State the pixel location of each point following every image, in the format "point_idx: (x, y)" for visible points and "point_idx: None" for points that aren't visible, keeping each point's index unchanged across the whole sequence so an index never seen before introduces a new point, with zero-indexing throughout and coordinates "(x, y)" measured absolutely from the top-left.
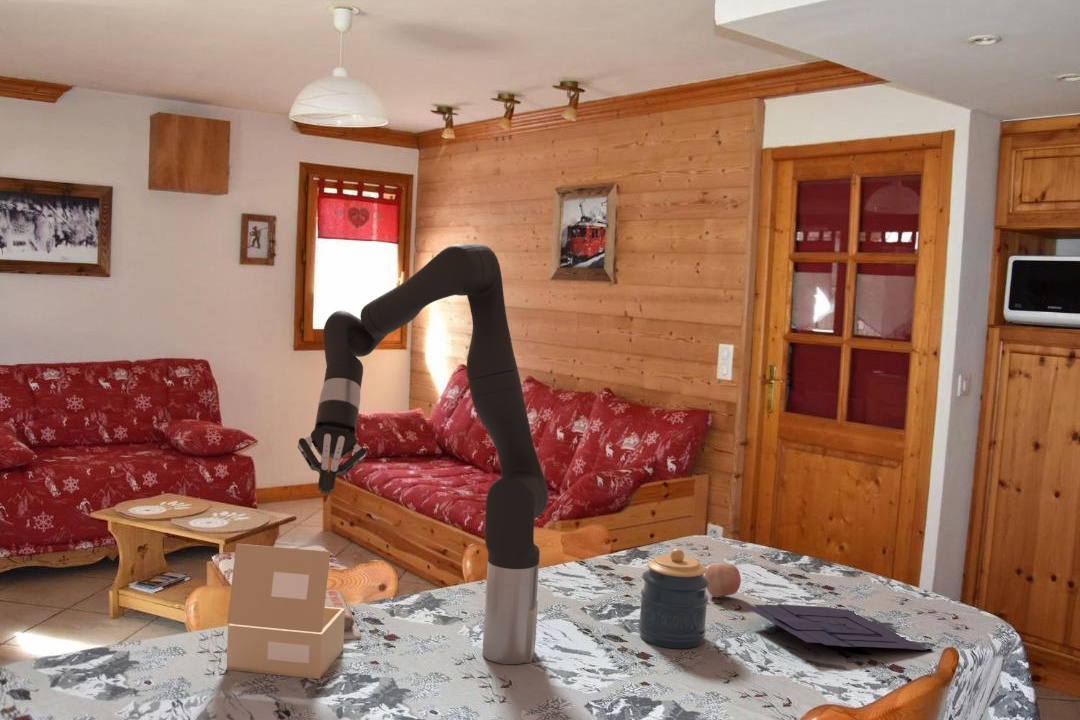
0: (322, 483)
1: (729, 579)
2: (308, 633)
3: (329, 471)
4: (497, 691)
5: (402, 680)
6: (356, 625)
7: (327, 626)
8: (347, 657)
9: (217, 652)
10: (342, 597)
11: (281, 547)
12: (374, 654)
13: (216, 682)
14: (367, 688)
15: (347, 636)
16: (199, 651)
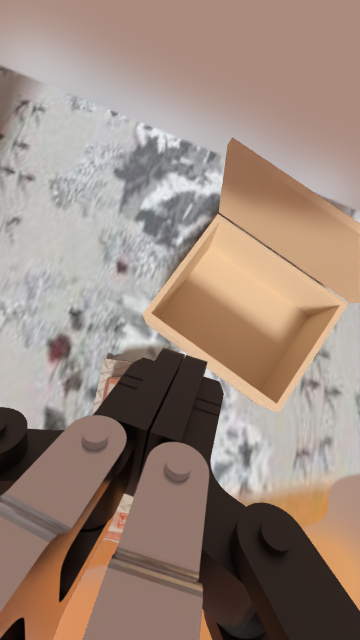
0: (198, 391)
1: None
2: (235, 226)
3: (117, 502)
4: (15, 127)
5: (111, 200)
6: (95, 403)
7: (199, 242)
8: (150, 297)
9: (315, 381)
10: None
11: (343, 222)
12: (110, 293)
13: None
14: (161, 195)
15: (126, 362)
16: (338, 394)
